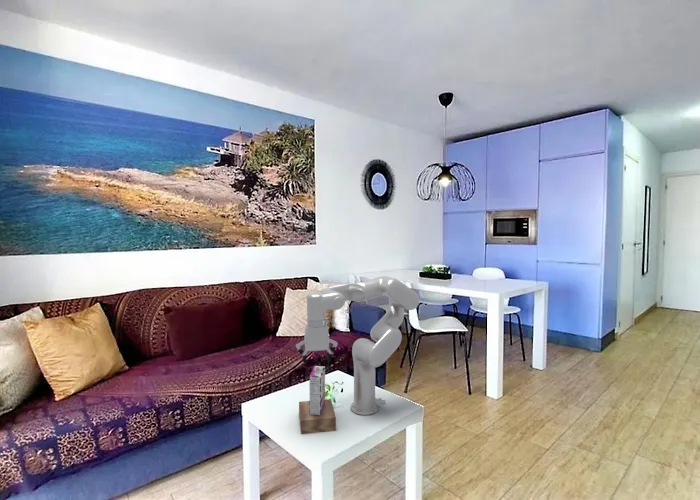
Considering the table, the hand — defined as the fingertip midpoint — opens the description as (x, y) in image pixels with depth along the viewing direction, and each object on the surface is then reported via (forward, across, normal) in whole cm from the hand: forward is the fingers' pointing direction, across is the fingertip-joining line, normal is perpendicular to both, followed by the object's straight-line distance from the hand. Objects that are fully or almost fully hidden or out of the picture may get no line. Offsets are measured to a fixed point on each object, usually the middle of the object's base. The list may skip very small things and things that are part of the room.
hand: (317, 363), depth 155 cm
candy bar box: (+20, 0, 0) cm, 20 cm away
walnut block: (+26, +1, 0) cm, 26 cm away
